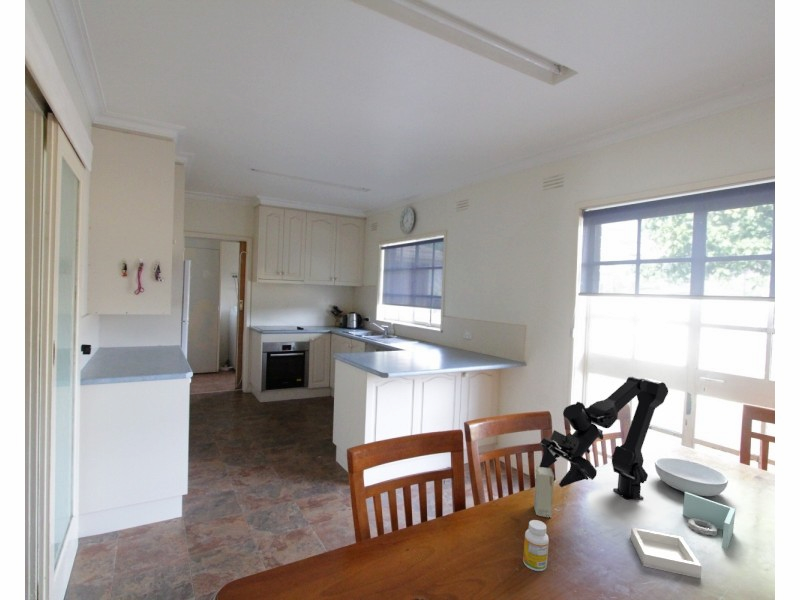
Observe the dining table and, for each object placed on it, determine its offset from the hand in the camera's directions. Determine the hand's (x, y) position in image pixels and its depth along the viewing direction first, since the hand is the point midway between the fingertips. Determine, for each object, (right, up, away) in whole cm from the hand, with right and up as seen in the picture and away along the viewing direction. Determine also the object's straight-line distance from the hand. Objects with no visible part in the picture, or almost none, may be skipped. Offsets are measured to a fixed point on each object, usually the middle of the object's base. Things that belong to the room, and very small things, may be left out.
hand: (549, 478), depth 123 cm
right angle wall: (+42, -14, -5) cm, 45 cm away
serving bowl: (+56, -13, +21) cm, 61 cm away
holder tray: (+22, -12, -18) cm, 31 cm away
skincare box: (-2, -10, 0) cm, 10 cm away
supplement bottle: (-12, -10, -24) cm, 29 cm away
